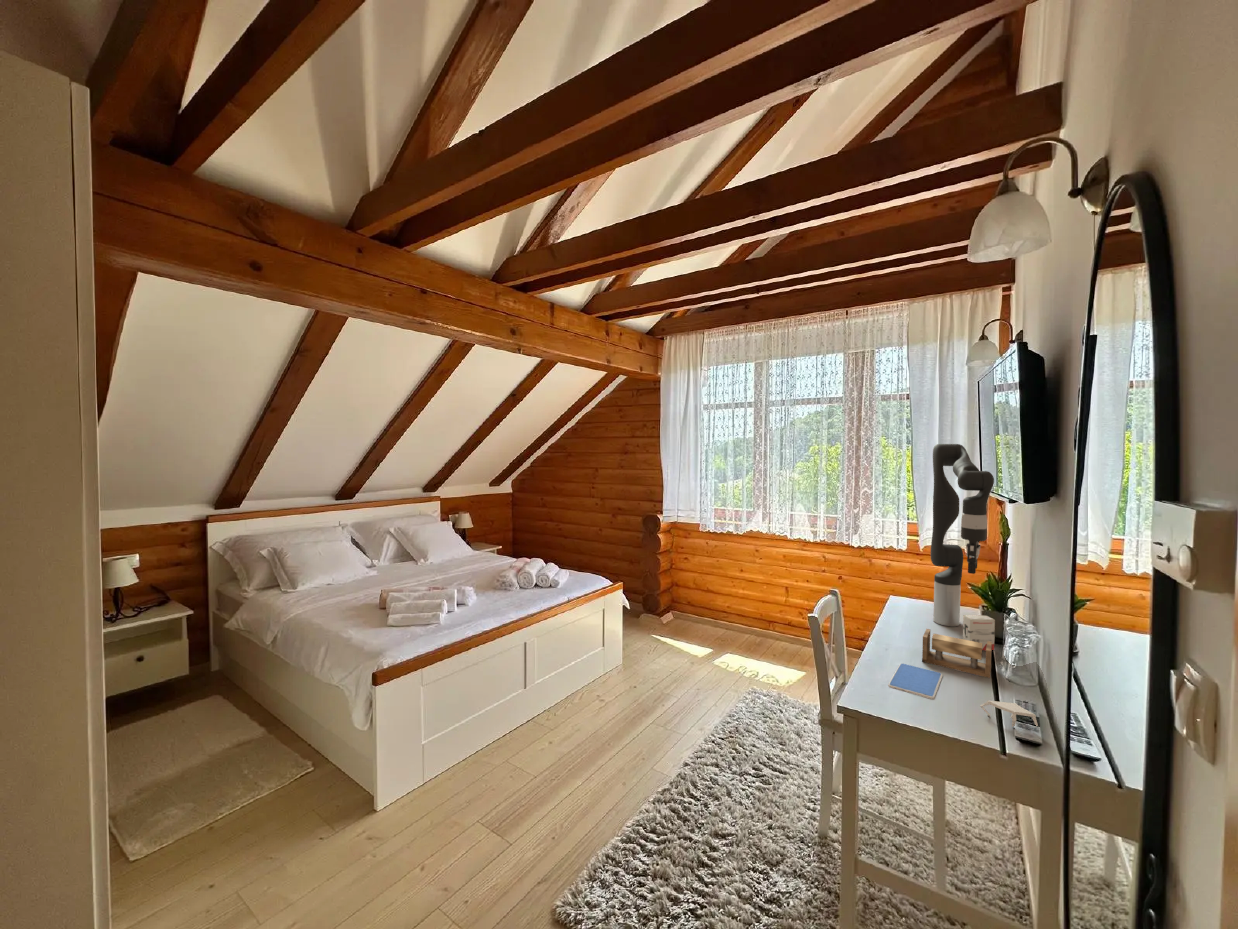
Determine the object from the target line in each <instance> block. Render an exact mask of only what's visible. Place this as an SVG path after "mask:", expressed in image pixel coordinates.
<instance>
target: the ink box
mask: <svg viewBox="0 0 1238 929" xmlns="http://www.w3.org/2000/svg"><path fill="white" fill-rule="evenodd" d="M962 624H963V625H962V639H964V640H969V641H974V642H979V643H982V652H983V651H985V652H986V647H987V641H990V642H992V650H994V651H995V639H996V638H995V636H996V629H995V628H996V627H995V626H996V620H995V619H994V618H992V617H990V616H988V615H977V614H976V615H975V614H974V615H973V614H965V615H963V620H962Z"/></svg>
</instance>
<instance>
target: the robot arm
mask: <svg viewBox="0 0 1238 929" xmlns="http://www.w3.org/2000/svg"><path fill="white" fill-rule="evenodd" d="M944 467H952V472H953V473H954V475H955V476H956V478H957V486H958V487H959V488H960V489H961V490H963V491H971V492H972V491H975V492H976V491H977V492H978V493H977V494H976V495H973V496H967V497H964V498H963V500H962V514H961V523H960V539H963V540H965V541H968V542H967V543H966V545H965V546H966V554H965V555H966V558H967V559H966V561H967V573H968V574H972V575H975V574H976V572H977V570H976V569H977V568H978V558H979V555H980V551H981V544H980V542H984V541H987V539H988V538H987V537H988V534H987V533H988V517H987V514H988V513H987V512H988V508H987V507H988V506H987V505H988V501H989V497H990V494H991V492H992V489H993V486H994V483H995V478H994V477H995V476H994V475H993V474H992V473H991V472H990V471H987V470H980V469H979V467H977V466H976V464H974V463H973V462H972V460H971V458H970V455H969V454H968V451H967V450H966V448H965V446H963V445H962V444H960V443H937V444H935V445H934V447H933V449H932V469H933V493H932V494H933V495H932V535H931V544H930V560H931V564H932V565H934V566H935V567H944V568H945V567H947V568H946V569H945V570H943V571H940V572H937V573H935V574H934V579H933V580H934V581H933V583H934V585H933V614H932V615H933V618H932V620H933V622H934V623H936V624H938V625H942V626H945V627H958V626H960V623H961V622H960V617H961V587H962V586H961V585H962V577H963V568H964V551H963V549H962V547H961V546H960V545H958V544H946V543H945V544H944V540H945V536H946V534H947V532H948V530H949V529H950V528H951V527H952V525H953V524H954V523H955V521H956V520H957V519H958V517H959V515H960V497H959V495H958V493H957V492H956V490H955V489H954V487H953V486H952V485H951V483H950V482H949V480H948V478H947V477H946V475H945V470H944V469H945V468H944Z"/></svg>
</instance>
